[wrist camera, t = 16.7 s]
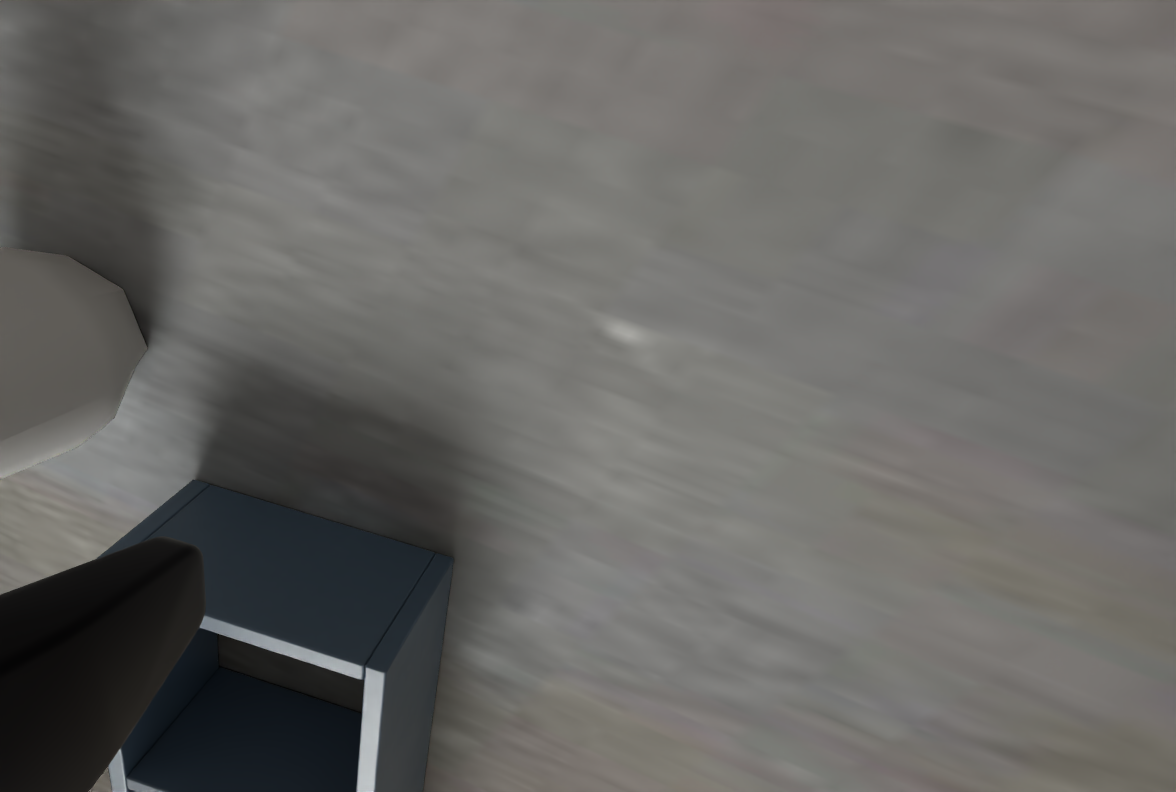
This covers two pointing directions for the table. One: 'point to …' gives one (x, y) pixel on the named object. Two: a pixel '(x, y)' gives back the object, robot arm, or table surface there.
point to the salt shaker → (59, 355)
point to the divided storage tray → (292, 655)
